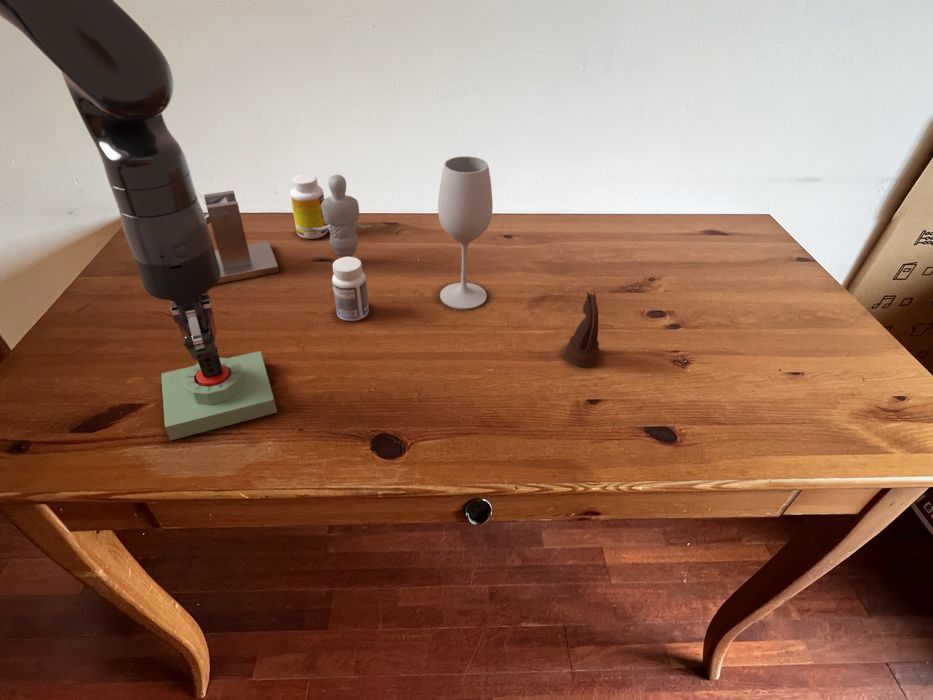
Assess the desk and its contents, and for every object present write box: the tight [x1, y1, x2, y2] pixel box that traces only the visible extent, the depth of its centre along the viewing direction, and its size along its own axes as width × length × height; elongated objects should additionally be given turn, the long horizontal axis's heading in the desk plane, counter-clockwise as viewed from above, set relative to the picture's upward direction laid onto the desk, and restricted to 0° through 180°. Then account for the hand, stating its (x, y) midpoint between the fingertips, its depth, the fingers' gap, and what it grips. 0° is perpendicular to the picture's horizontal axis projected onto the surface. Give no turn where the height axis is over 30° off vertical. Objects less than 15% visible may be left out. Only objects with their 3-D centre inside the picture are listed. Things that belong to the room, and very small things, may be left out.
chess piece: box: [564, 291, 600, 368], centre depth 79 cm, size 5×5×10 cm
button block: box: [160, 350, 278, 441], centre depth 73 cm, size 12×10×4 cm
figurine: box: [312, 174, 373, 258], centre depth 97 cm, size 9×4×15 cm, turn 99°
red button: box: [196, 364, 230, 387], centre depth 72 cm, size 4×4×2 cm
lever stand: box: [203, 190, 280, 285], centre depth 96 cm, size 12×9×12 cm
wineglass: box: [437, 155, 494, 310], centre depth 87 cm, size 8×8×21 cm
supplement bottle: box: [289, 173, 329, 240], centre depth 106 cm, size 6×6×10 cm
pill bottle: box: [331, 256, 370, 322], centre depth 87 cm, size 5×5×8 cm
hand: (213, 372), depth 72 cm, fingers closed
